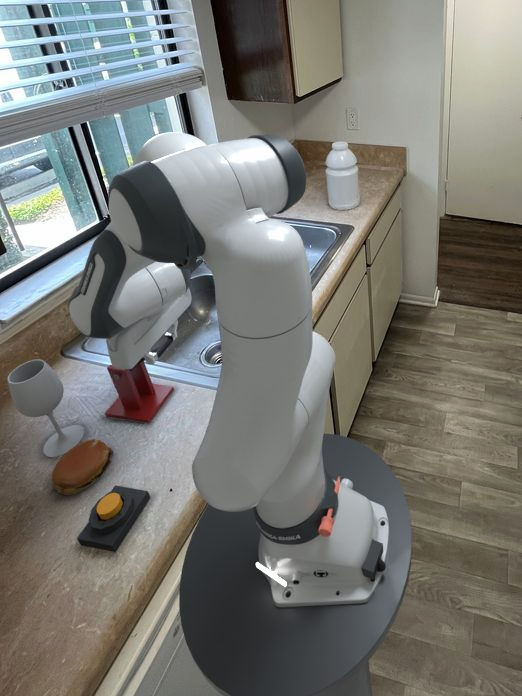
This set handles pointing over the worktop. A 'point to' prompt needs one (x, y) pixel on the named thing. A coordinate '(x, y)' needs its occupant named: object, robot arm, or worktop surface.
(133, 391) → the bracket
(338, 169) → the bottle
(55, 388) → the wineglass
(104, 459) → the burger
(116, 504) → the button
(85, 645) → the worktop surface
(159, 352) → the lever
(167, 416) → the worktop surface
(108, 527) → the button box
